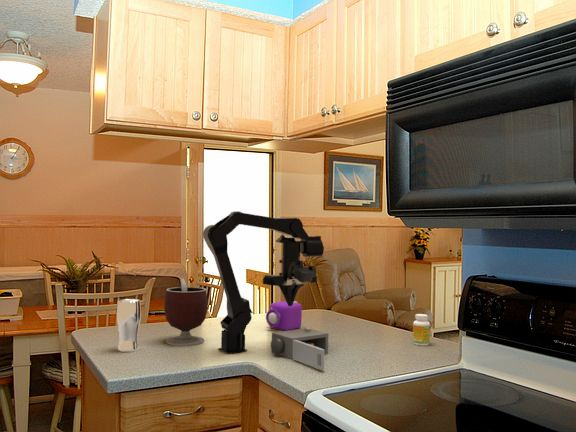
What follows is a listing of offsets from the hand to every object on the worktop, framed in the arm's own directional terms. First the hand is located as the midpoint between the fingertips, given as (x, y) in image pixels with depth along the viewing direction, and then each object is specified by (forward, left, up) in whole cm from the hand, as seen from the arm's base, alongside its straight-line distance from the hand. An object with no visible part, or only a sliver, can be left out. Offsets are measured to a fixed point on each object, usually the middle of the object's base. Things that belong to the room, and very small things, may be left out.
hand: (290, 306), depth 178 cm
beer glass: (-44, +23, -13) cm, 51 cm away
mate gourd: (-24, +25, -13) cm, 37 cm away
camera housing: (-3, -8, -13) cm, 16 cm away
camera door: (-10, -21, -13) cm, 26 cm away
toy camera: (+16, +25, -13) cm, 33 cm away
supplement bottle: (+40, -20, -13) cm, 47 cm away
